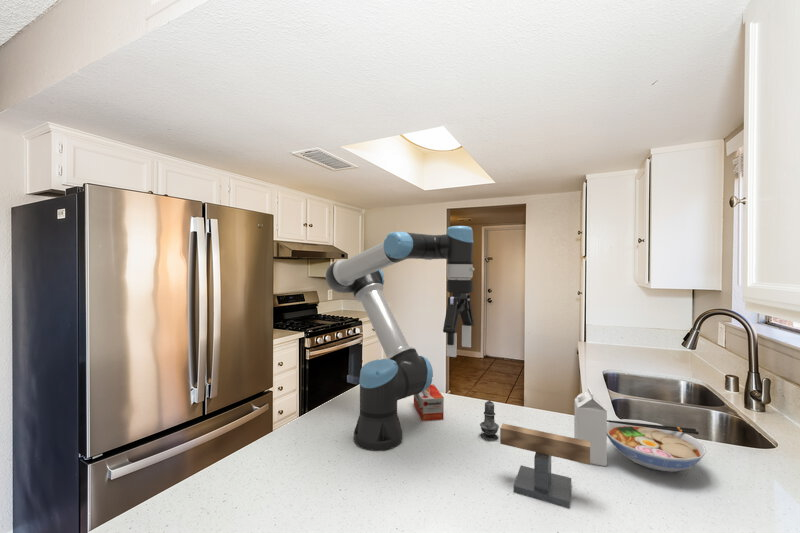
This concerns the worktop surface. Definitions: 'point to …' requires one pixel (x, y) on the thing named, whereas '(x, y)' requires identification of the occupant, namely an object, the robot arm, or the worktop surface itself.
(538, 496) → the ridge stand
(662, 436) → the ramen bowl
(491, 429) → the grey stone chess piece
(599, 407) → the milk carton
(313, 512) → the worktop surface
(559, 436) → the walnut beam
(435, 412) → the medicine box
